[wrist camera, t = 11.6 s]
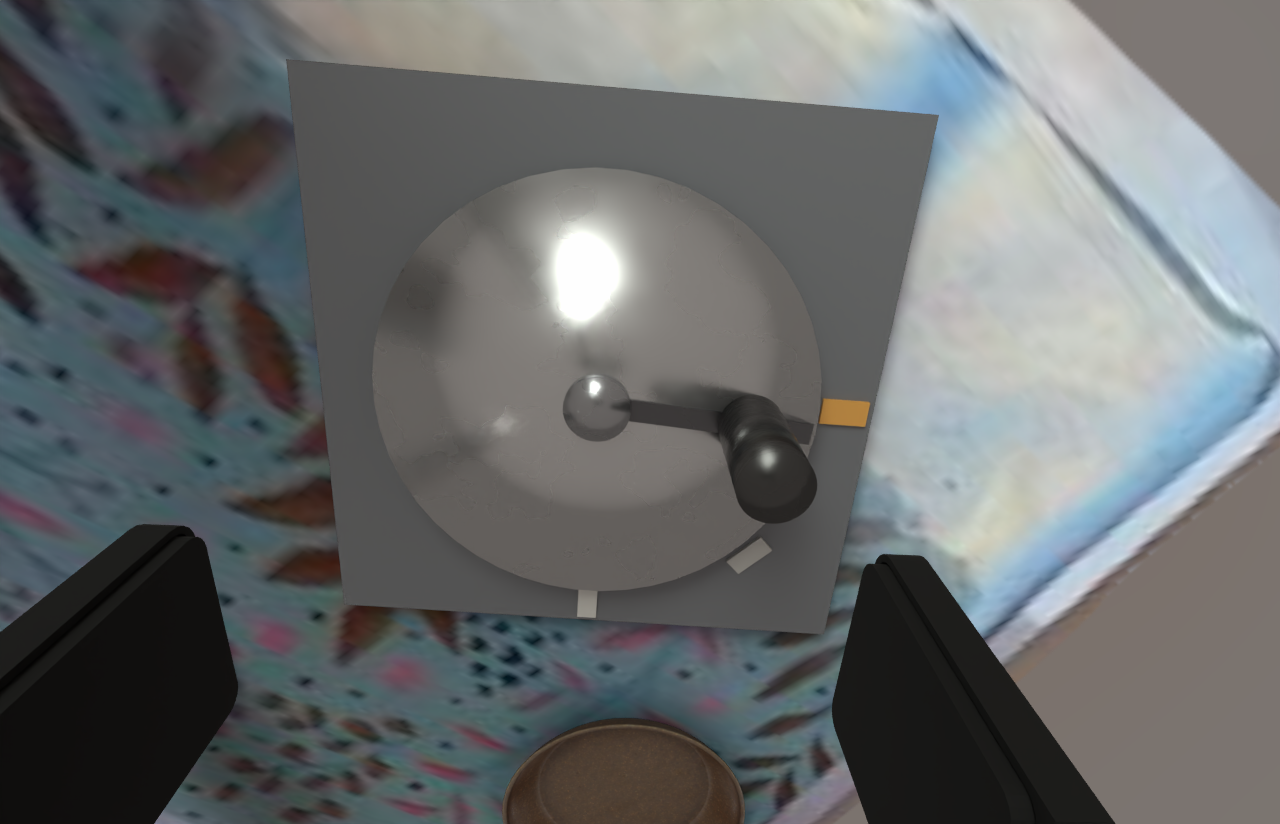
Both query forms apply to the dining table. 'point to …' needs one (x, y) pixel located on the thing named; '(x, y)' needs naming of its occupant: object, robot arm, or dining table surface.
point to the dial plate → (619, 139)
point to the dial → (598, 380)
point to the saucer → (624, 779)
